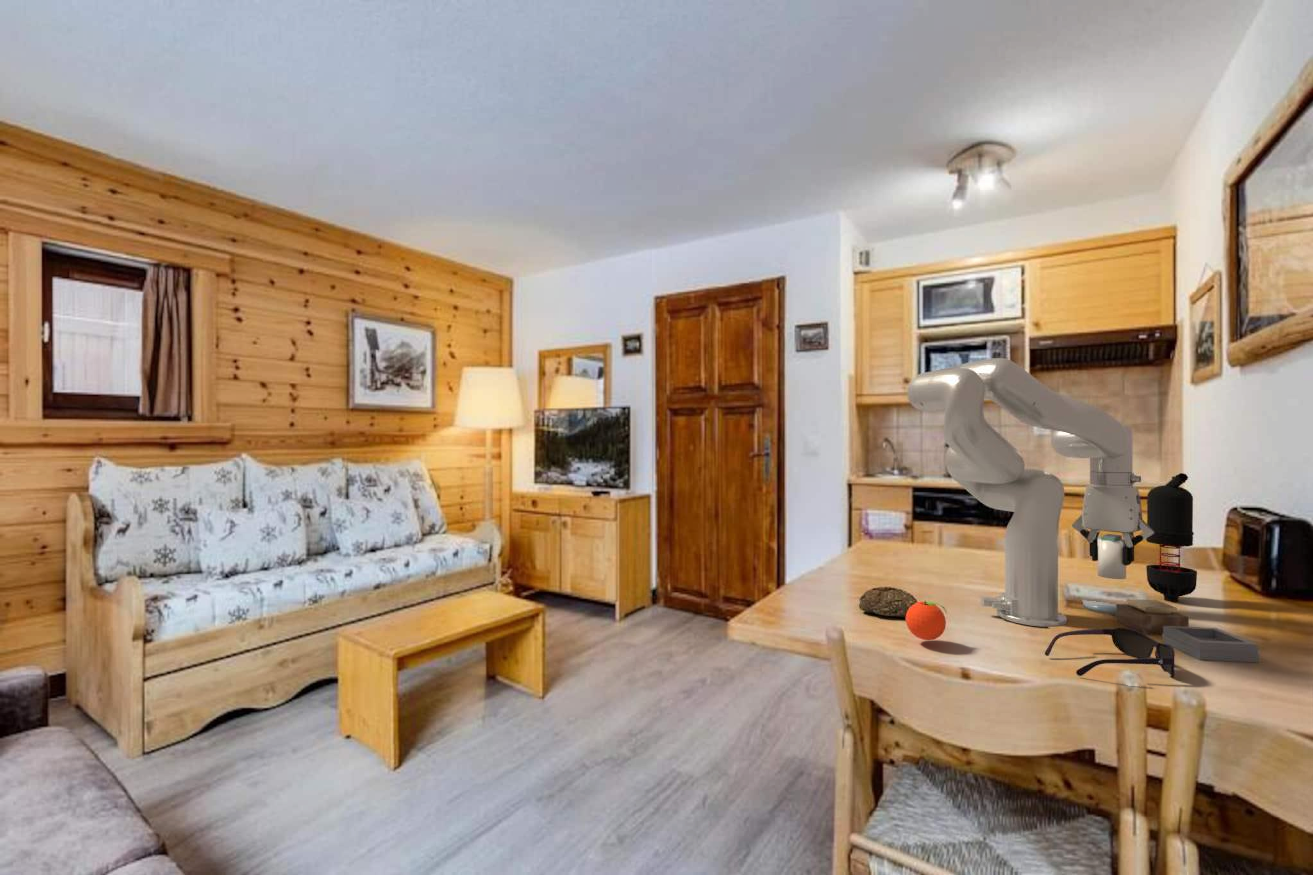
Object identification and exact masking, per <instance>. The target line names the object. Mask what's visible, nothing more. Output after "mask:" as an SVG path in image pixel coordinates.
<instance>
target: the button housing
mask: <svg viewBox="0 0 1313 875" xmlns="http://www.w3.org/2000/svg"><path fill="white" fill-rule="evenodd" d="M1115 616H1116V618H1115V619H1116V622H1118V623H1121V625H1124V626H1126V627H1127V628H1129V629H1133V630H1136V631H1139V632H1141V633H1143V634H1145V635H1162V634H1163V626H1180V627H1190V626H1189V624H1190V623H1189V619H1190V618H1189V616H1186V615H1184V614H1181V613H1179V612H1178V611H1177V612H1171V615H1170V614H1146V613H1143V612H1141V611H1139V610H1137V609H1134V608H1132V605H1130V604H1116V615H1115Z"/></svg>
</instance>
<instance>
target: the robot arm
mask: <svg viewBox="0 0 1313 875" xmlns="http://www.w3.org/2000/svg"><path fill="white" fill-rule="evenodd" d="M906 390H907V392H906V393H907V395H906V396H907V399H908V401H909V403H910V405H911V406H912V407H913V408H915V409H916V410H918V411H921V412H927V413H928V412H929V413H931V412H932V413H933V412H944V420H943V422H944V423H943V437H944V440H945V442H946V444H947V445H948V446H949V447H948V448H947V449H946V452H945V456H944V459H945V460H944V463H945V468H946V469H947V472H948V473H949V475H950V477H951V478H952V479H953V480H955V482H957V484H959V485H960V486H961V487H962V488H963V489H965V490H966V491H967V492H968V493H969V494H970V495H971V496H973V497H974V498H975V499H976V500H978V501H979V502H980V503H982V504H983V505H984V506H986V507H988V508H991V509H994V510H999V511H1005V512H1013V514H1012V517H1011V519H1010V520H1009V521H1008V524H1007V526H1006V530H1005V532H1004V533H1005V535H1004V546H1005V547H1004V556H1005V557H1004V561H1005V562H1004V570H1005V571H1004V575H1005V576H1004V592H999V595H998V596H996V597H987V596H981V597H980V604H981V606H982V607H992V609H995V610H996V615H998V616H999V617H1000V618H1001V619H1004V620H1006V621H1008V622H1012V623H1017V624H1019V625H1026V626H1032V627H1042V628H1048V627H1058V626H1060V627H1061V626H1064V625H1067V623H1068V617H1067V616H1066V615H1065V614H1063V613H1061V612H1060V611H1059V526H1060V520H1061V519H1060V518H1061V512H1062V508H1063V506H1064V501H1065V487H1064V485H1063V483H1062V480H1060V479H1059V477H1058V476H1056V475H1055V474H1053V473H1052V472H1048V471H1046V470H1042V469H1034V468H1025V460H1024V457H1023V456H1022V454H1021V453H1020V452H1019V451H1018V449H1017V448H1016V447H1015V446H1014V445H1012V444H1011V442H1009V441H1008V440H1007V439H1005V437H1004V436H1002V435H1001V434H1000V433H999V432H998V431H996V429H995V428H993V427H992V425H990V423H989V422H988V421H987V419H986V418H985V414H984V403H985V402H984V400H988V401H992V402H993V403H995V404H996V405H998V406H999V407H1001V408H1002V409H1003V410H1004V411H1006V412H1007V413H1009V414H1010V415H1011V416H1012V417H1014V418H1015V419H1017V420H1018V421H1019V422H1021V423H1023V424H1026V425H1029V426H1032V427H1035V428H1039V429H1045V430H1050V431H1051V430H1052V431H1053V433H1052V435H1051V437H1050V444H1051V446H1052V449H1053V450H1054V451H1055V452H1056V453H1057V454H1059V455H1060V456H1063V457H1067V458H1074V459H1089V484H1087V485H1086V487H1085V491H1084V496H1083V502H1082V513H1081V515H1080V516H1079V517H1078V518H1077V519H1076V520H1075V521H1073V522H1072V524H1071V527H1072V528H1073V529H1074V530H1075V531H1077V532H1078V533H1080V535H1082V537H1084V538H1085V539H1086V541H1087V542H1088V543H1089V557H1091V560H1092V562H1098V549H1097V538H1100V534H1101V532H1108V533H1110V532H1111V533H1119V534H1121V535H1122V539H1124V541H1125V547H1123V564H1124V565H1126V566H1129V565H1131V564H1132V563H1133V562H1134V561H1135V546H1136V545H1138V544H1139V543H1141V542H1142V541H1144V540H1145V539H1146V538H1147V537H1149V536H1151V535H1153V534H1154V531H1153V530H1152V529H1151V528H1150V527H1149V526H1148V525H1147V522H1145V520H1143V511H1142V510H1143V509H1142V502H1141V496H1140V492H1139V488H1138V487H1137V486H1134V485H1135V483H1141V482H1142V477H1141V475H1137V474H1134V472H1133V465H1134V464H1133V462H1134V460H1133V453H1134V452H1133V430H1132V427H1131V426H1130V425H1127V424H1122V423H1121V422H1120V421H1119V420H1117V419H1116V418H1115V417H1113V416H1112V415H1111V414H1110V413H1108V412H1107V411H1105V410H1104V409H1101V408H1100V407H1098V406H1095V405H1094V404H1090V403H1088V402H1085V401H1082V400H1079V399H1077V398H1073V397H1071V396H1068V395H1065V394H1062V393H1059V392H1055V391H1054V390H1052V389H1050V388H1049V387H1048V386H1047V385H1045V384H1044V383H1043V382H1041V381H1040V380H1038V379H1037V378H1036V377H1034V376H1033V375H1031V374H1030V373H1029V372H1028V371H1027V370H1025V369H1024V368H1022V366H1020V365H1018V364H1017V363H1016V362H1014V361H1012V360H1010V359H1008V358H1005V357H1004V358H1003V357H995V358H987V359H983V360H976V361H969V362H965V363H961V364H957V365H953V366H949V367H945V368H941V369H935V370H932V371H926V372H922V373H920V374H917V375H915V377H913V379H912V380H910V382H909V384H908V387H907V389H906ZM1139 531H1142V532H1141V533H1139V534H1138V535H1136V536H1135V535H1134V533H1136V532H1139Z"/></svg>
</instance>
